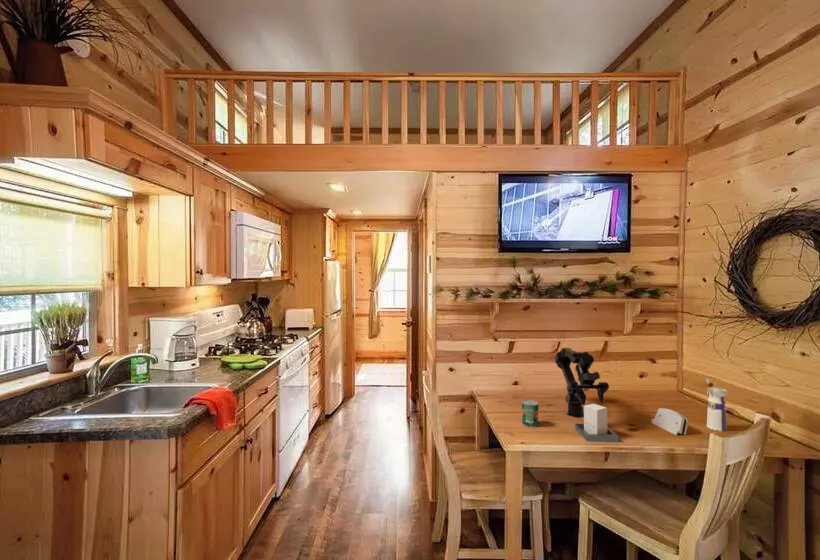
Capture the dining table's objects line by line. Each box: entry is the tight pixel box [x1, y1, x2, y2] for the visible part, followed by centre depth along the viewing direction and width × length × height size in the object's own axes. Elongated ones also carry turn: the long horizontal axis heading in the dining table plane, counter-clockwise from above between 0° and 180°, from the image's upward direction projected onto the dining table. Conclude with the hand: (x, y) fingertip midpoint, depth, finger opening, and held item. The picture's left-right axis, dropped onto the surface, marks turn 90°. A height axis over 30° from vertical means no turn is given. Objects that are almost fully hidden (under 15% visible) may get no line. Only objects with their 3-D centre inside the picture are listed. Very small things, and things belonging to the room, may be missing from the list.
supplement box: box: [583, 403, 608, 435], centre depth 180 cm, size 7×7×13 cm
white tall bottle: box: [705, 377, 730, 432], centre depth 189 cm, size 8×9×25 cm
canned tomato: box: [521, 399, 540, 428], centre depth 193 cm, size 8×8×11 cm
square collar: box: [574, 423, 620, 443], centre depth 180 cm, size 14×14×3 cm
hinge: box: [651, 407, 689, 436], centre depth 189 cm, size 17×5×10 cm, turn 6°
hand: (592, 403), depth 184 cm, fingers open, 9 cm apart
